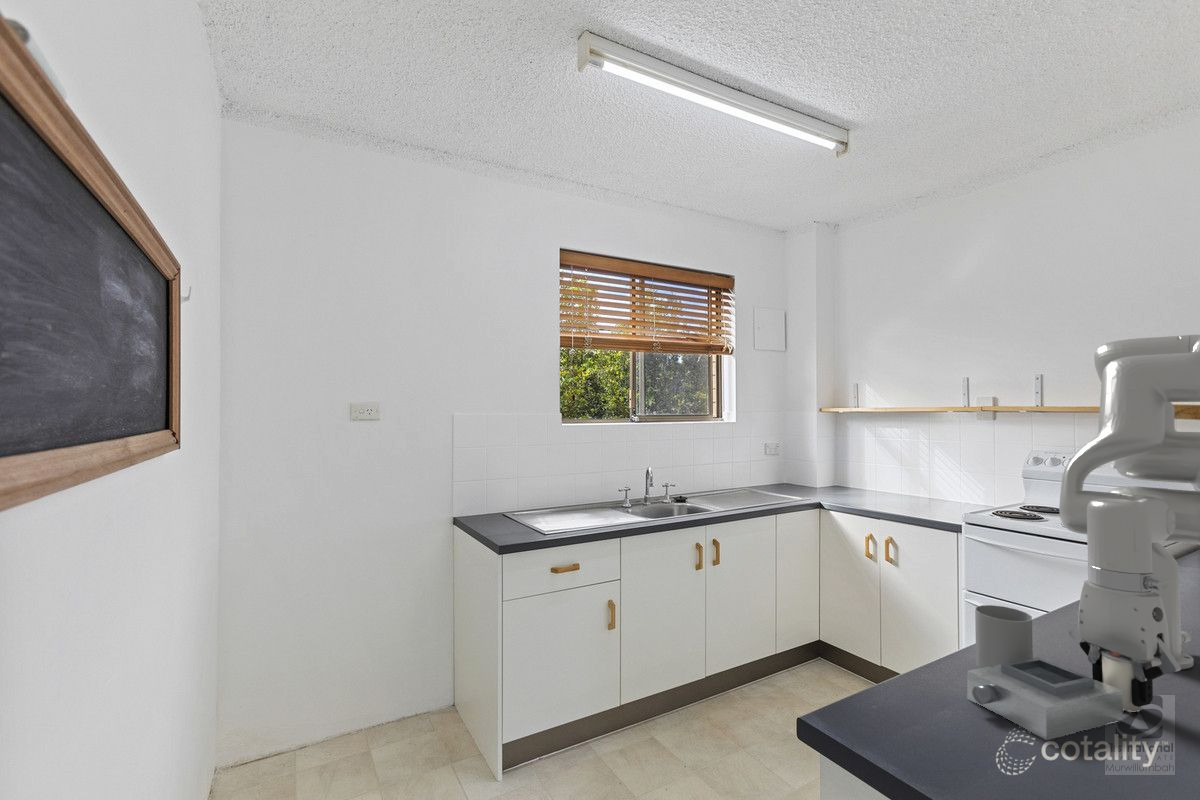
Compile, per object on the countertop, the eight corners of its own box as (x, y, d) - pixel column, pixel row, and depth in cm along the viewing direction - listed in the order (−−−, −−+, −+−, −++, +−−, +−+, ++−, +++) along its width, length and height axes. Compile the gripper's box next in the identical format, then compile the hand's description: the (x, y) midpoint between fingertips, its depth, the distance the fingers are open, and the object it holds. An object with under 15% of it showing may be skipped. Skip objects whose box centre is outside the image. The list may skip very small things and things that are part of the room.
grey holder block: (1039, 684, 96) (1038, 650, 96) (1123, 721, 85) (1122, 682, 85) (956, 701, 90) (955, 665, 90) (1034, 743, 79) (1033, 701, 79)
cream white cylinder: (1114, 695, 92) (1112, 641, 92) (1148, 709, 88) (1147, 652, 88) (1095, 700, 90) (1094, 645, 91) (1129, 715, 86) (1128, 656, 86)
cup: (1043, 682, 97) (1042, 623, 97) (989, 678, 98) (988, 619, 99) (1017, 661, 105) (1016, 606, 105) (968, 657, 107) (967, 603, 107)
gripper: (1205, 593, 83) (1208, 720, 82) (1076, 563, 99) (1078, 669, 98) (1171, 598, 80) (1174, 729, 80) (1045, 567, 96) (1047, 676, 96)
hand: (1121, 695), depth 89 cm, fingers closed on cream white cylinder, 4 cm apart
